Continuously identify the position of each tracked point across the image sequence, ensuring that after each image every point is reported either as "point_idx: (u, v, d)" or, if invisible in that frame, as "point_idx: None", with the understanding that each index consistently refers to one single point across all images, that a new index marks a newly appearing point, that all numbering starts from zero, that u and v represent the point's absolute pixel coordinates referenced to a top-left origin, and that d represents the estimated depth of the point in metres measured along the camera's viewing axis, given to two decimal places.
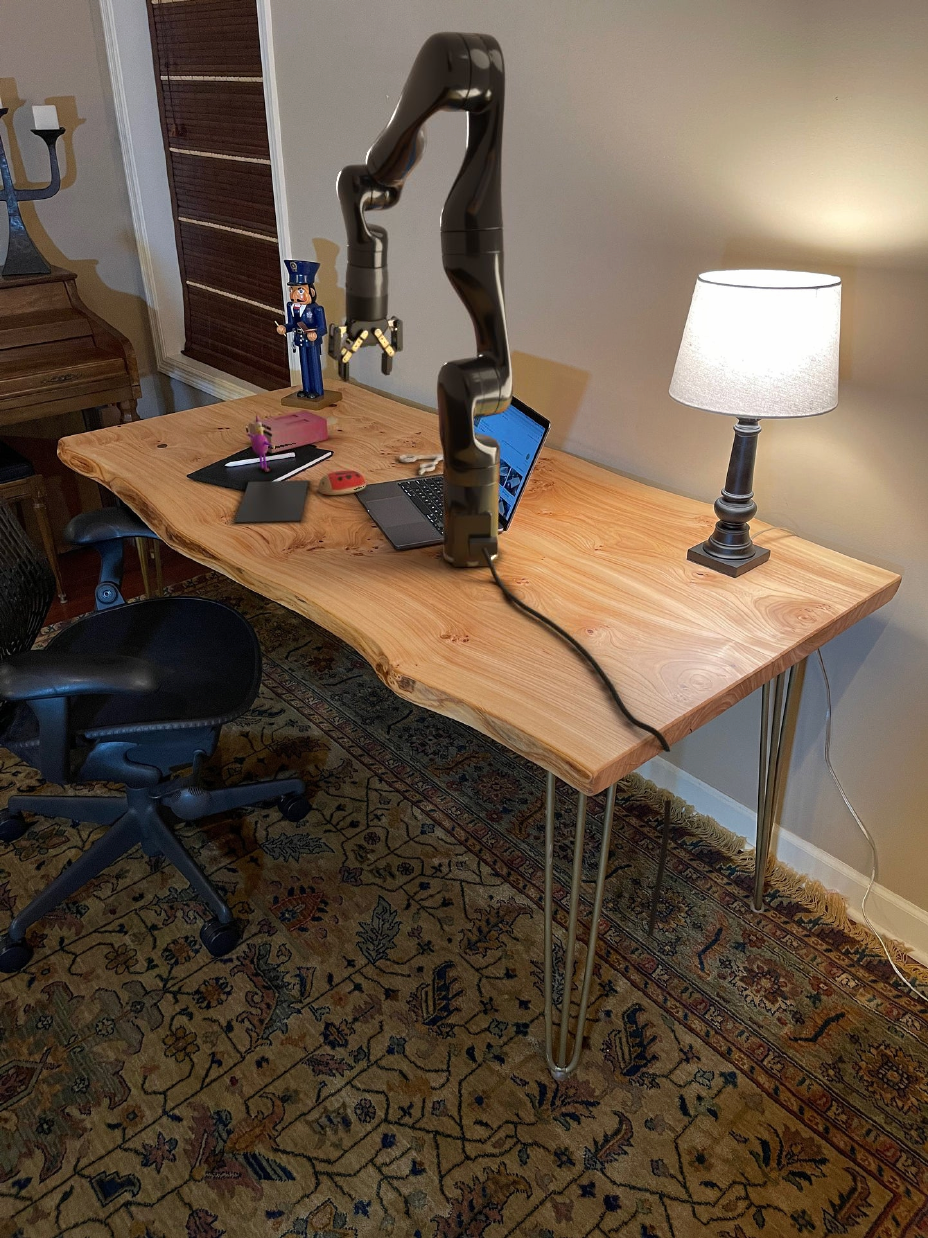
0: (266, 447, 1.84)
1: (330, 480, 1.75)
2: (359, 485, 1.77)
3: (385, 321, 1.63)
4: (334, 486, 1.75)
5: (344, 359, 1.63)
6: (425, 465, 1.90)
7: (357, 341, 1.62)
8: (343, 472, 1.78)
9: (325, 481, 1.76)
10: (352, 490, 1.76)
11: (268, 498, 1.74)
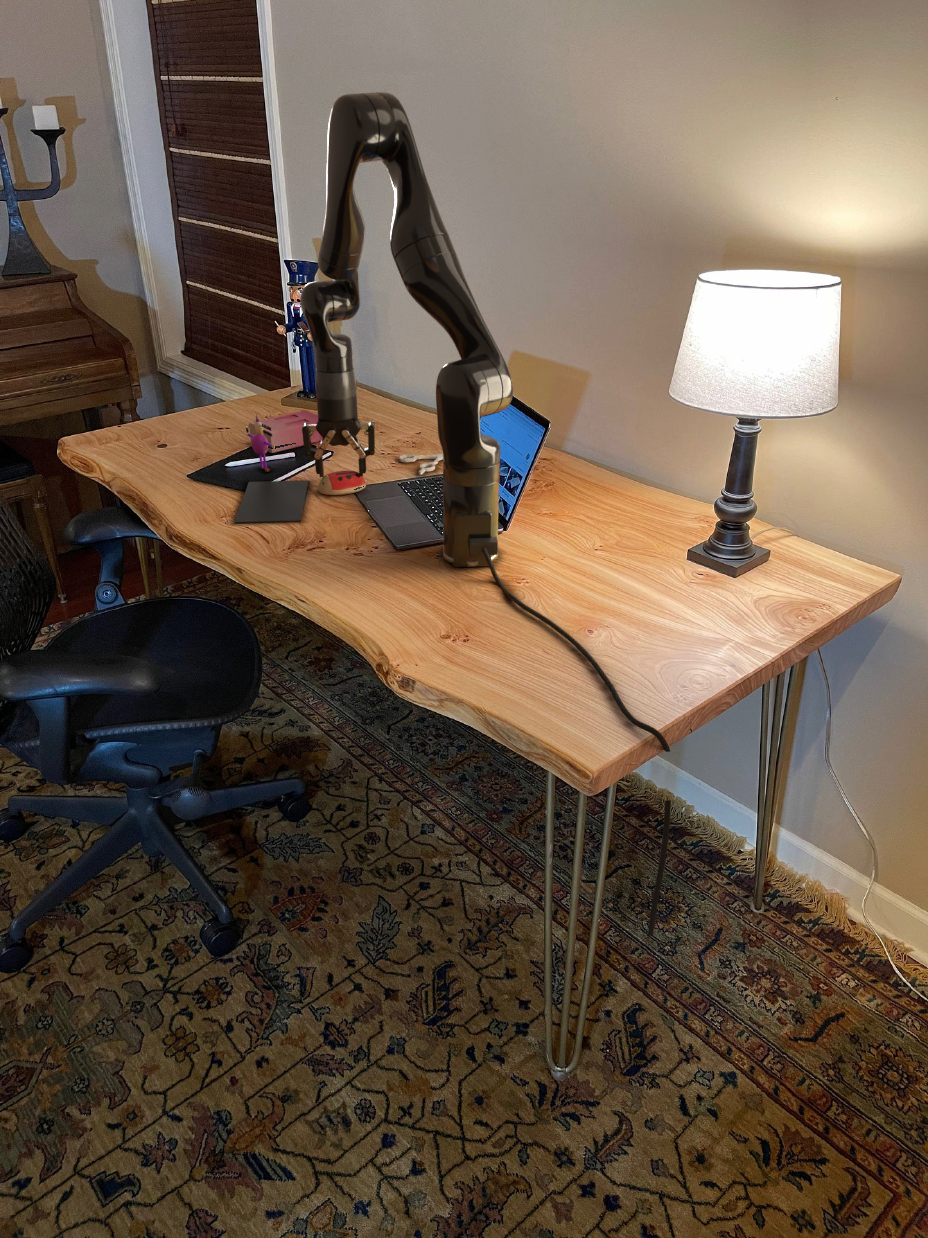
0: (266, 447, 1.84)
1: (330, 480, 1.75)
2: (359, 485, 1.77)
3: (355, 424, 1.71)
4: (334, 486, 1.75)
5: (316, 456, 1.74)
6: (425, 465, 1.90)
7: (325, 440, 1.72)
8: (343, 472, 1.78)
9: (325, 481, 1.76)
10: (352, 490, 1.76)
11: (268, 498, 1.74)
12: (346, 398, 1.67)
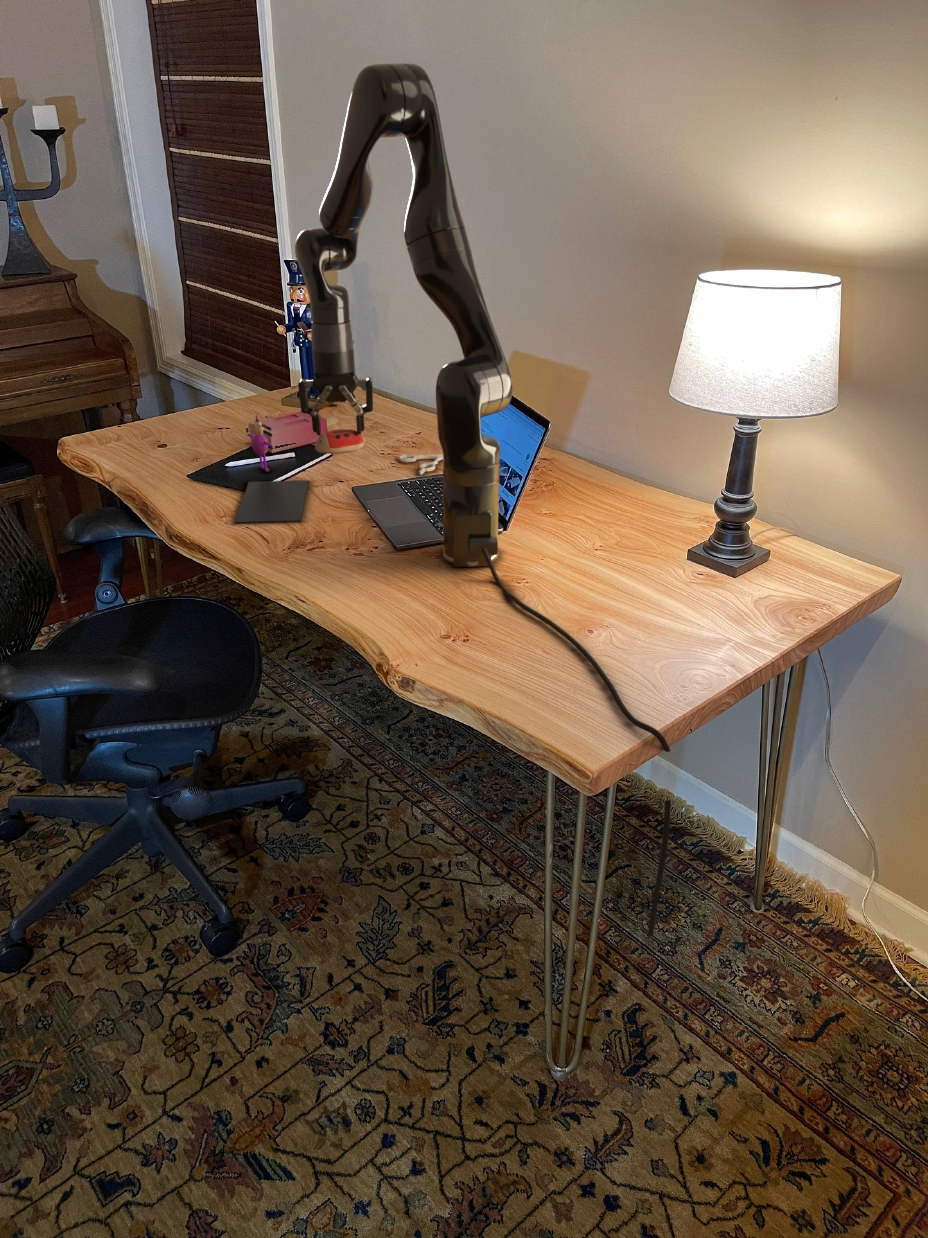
0: (266, 447, 1.84)
1: (327, 438, 1.71)
2: (357, 444, 1.73)
3: (353, 379, 1.67)
4: (331, 444, 1.71)
5: (312, 413, 1.69)
6: (425, 465, 1.90)
7: (322, 396, 1.68)
8: (341, 430, 1.73)
9: (322, 439, 1.71)
10: (350, 449, 1.72)
11: (268, 498, 1.74)
12: (343, 351, 1.62)
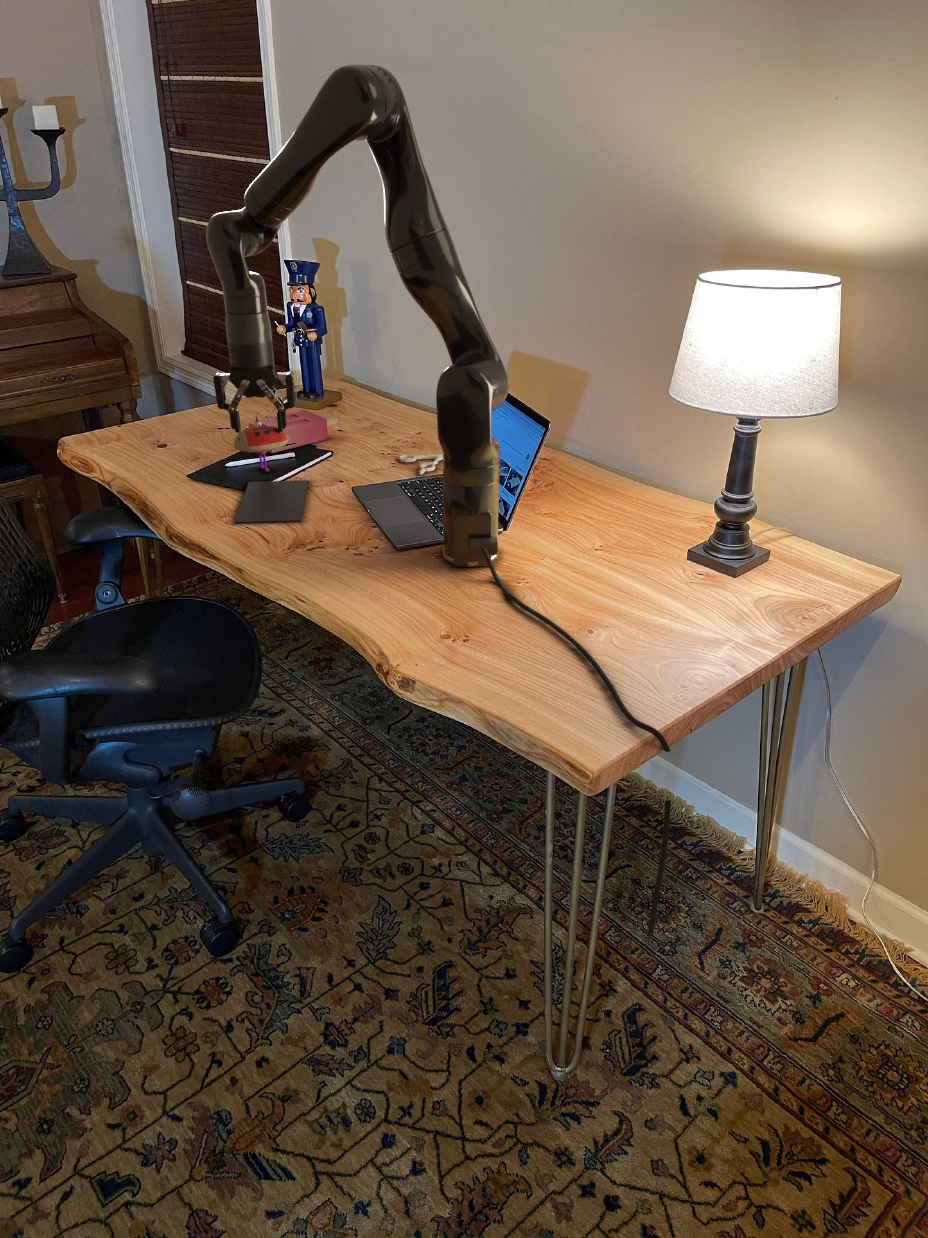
0: None
1: (246, 436, 1.61)
2: (279, 442, 1.63)
3: (271, 373, 1.57)
4: (250, 442, 1.61)
5: (230, 409, 1.59)
6: (425, 465, 1.90)
7: (239, 390, 1.57)
8: (262, 427, 1.63)
9: (241, 437, 1.61)
10: (271, 447, 1.62)
11: (268, 498, 1.74)
12: (259, 343, 1.52)
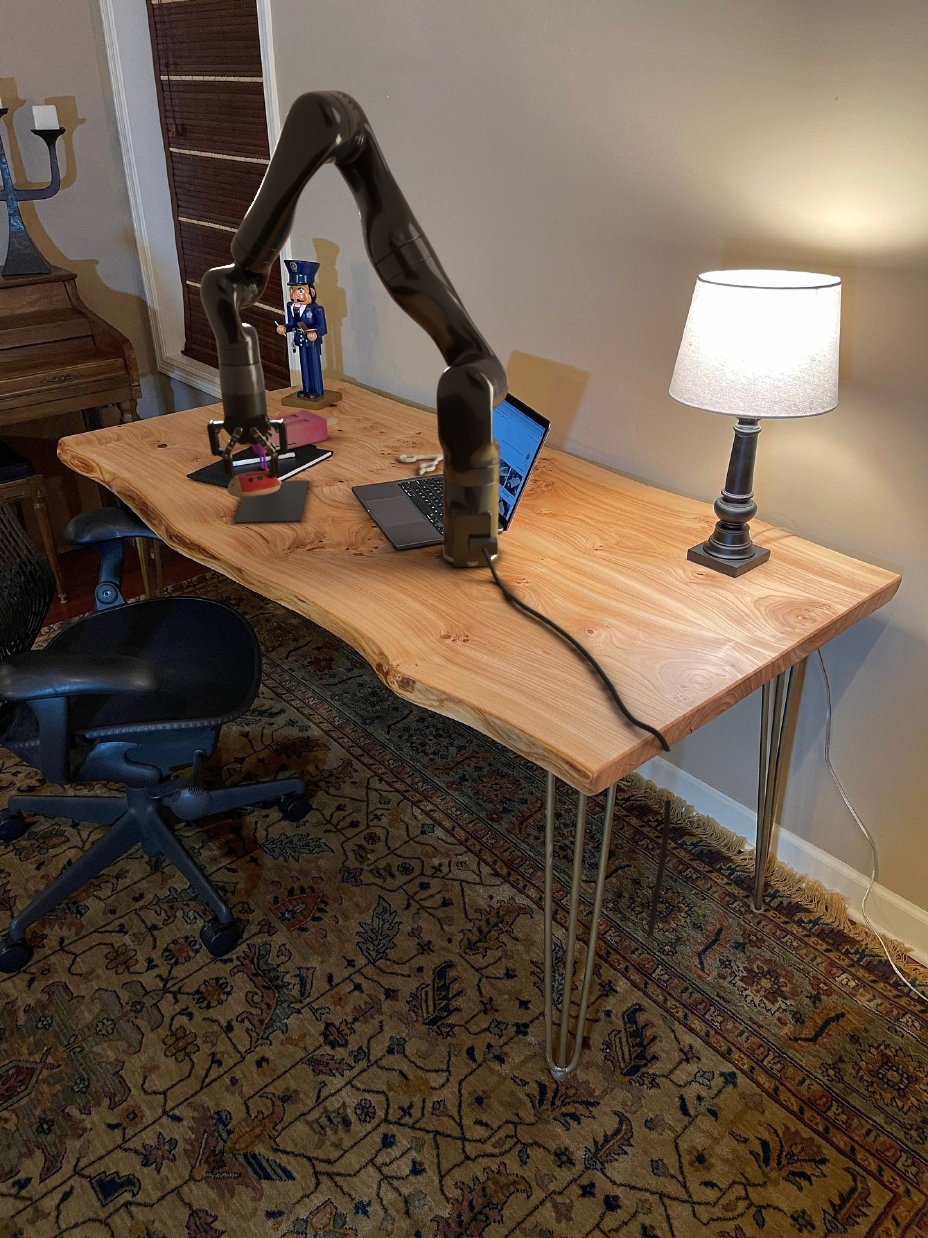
0: None
1: (239, 482, 1.64)
2: (272, 487, 1.65)
3: (264, 421, 1.60)
4: (244, 488, 1.63)
5: (223, 456, 1.62)
6: (425, 465, 1.90)
7: (232, 438, 1.60)
8: (255, 472, 1.66)
9: (234, 483, 1.64)
10: (264, 492, 1.65)
11: (268, 498, 1.74)
12: (252, 393, 1.55)
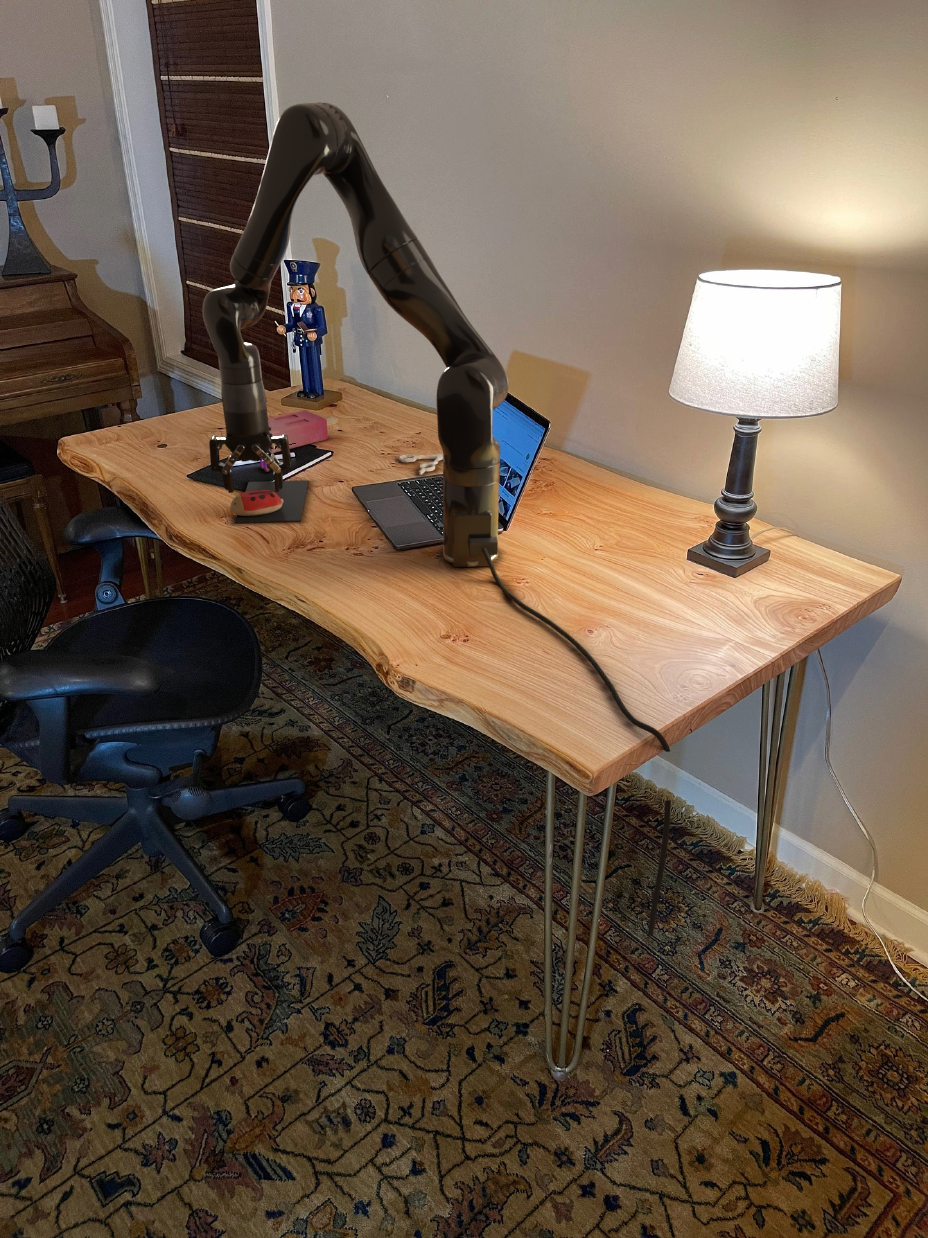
0: None
1: (242, 501, 1.65)
2: (274, 505, 1.67)
3: (266, 438, 1.61)
4: (246, 507, 1.65)
5: (223, 471, 1.63)
6: (425, 465, 1.90)
7: (234, 454, 1.62)
8: (257, 491, 1.68)
9: (237, 502, 1.66)
10: (266, 511, 1.66)
11: None
12: (254, 411, 1.57)
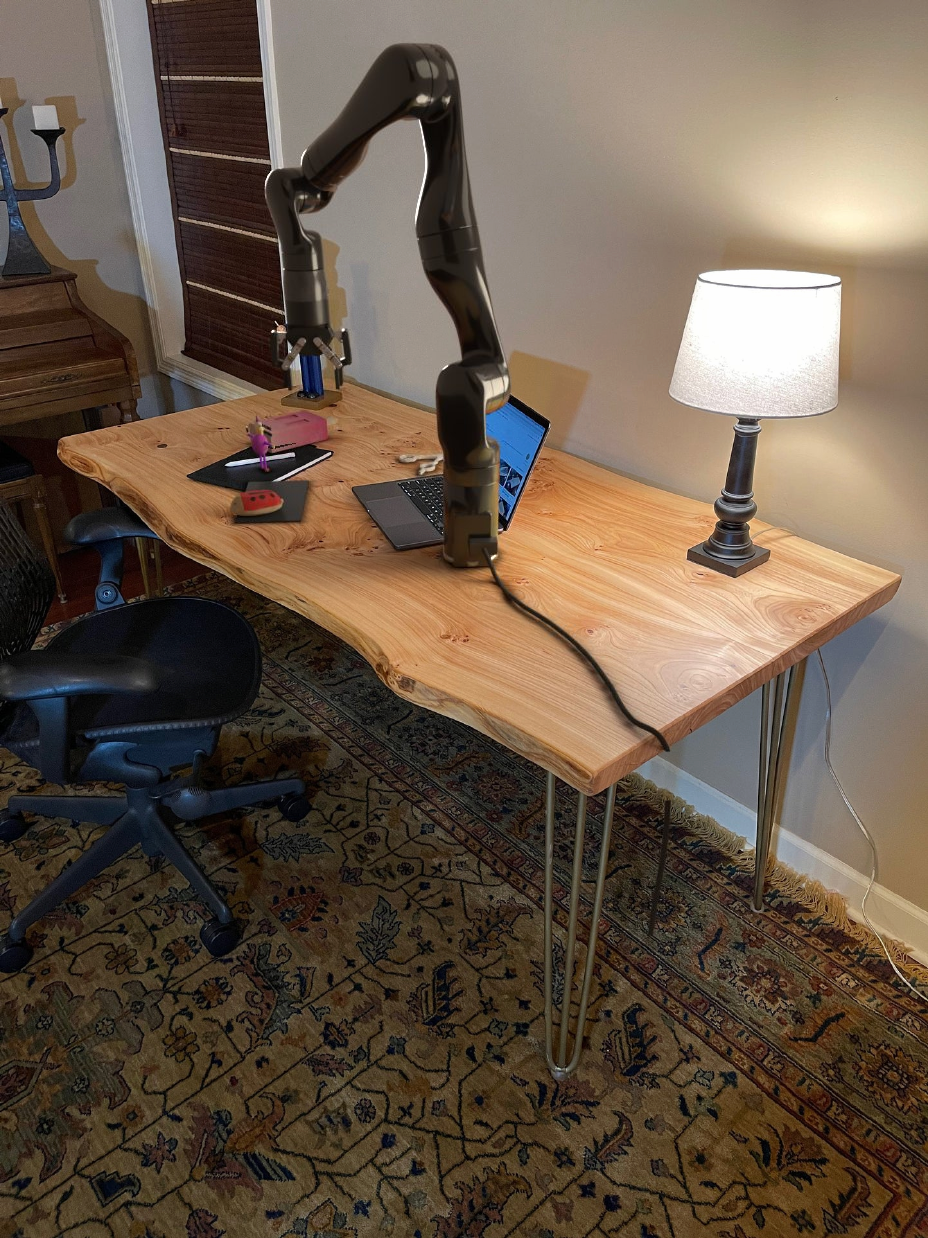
0: (266, 447, 1.84)
1: (242, 501, 1.65)
2: (274, 505, 1.67)
3: (327, 331, 1.58)
4: (246, 507, 1.65)
5: (283, 366, 1.60)
6: (425, 465, 1.90)
7: (295, 348, 1.59)
8: (257, 491, 1.68)
9: (237, 502, 1.66)
10: (266, 511, 1.66)
11: None
12: (317, 300, 1.54)
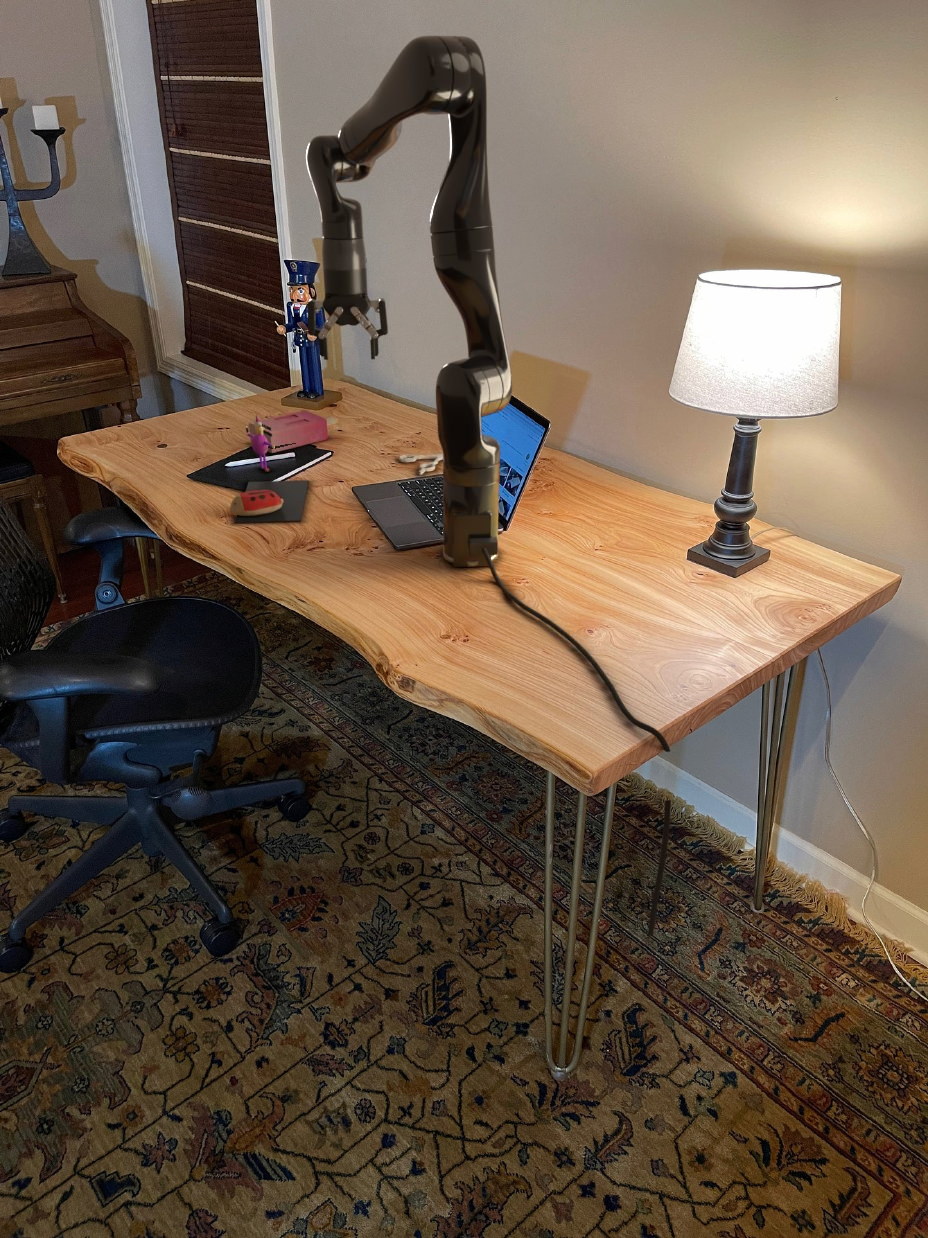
0: (266, 447, 1.84)
1: (242, 501, 1.65)
2: (274, 505, 1.67)
3: (365, 300, 1.59)
4: (246, 507, 1.65)
5: (320, 335, 1.62)
6: (425, 465, 1.90)
7: (332, 317, 1.60)
8: (257, 491, 1.68)
9: (237, 502, 1.66)
10: (266, 511, 1.66)
11: None
12: (355, 269, 1.55)
